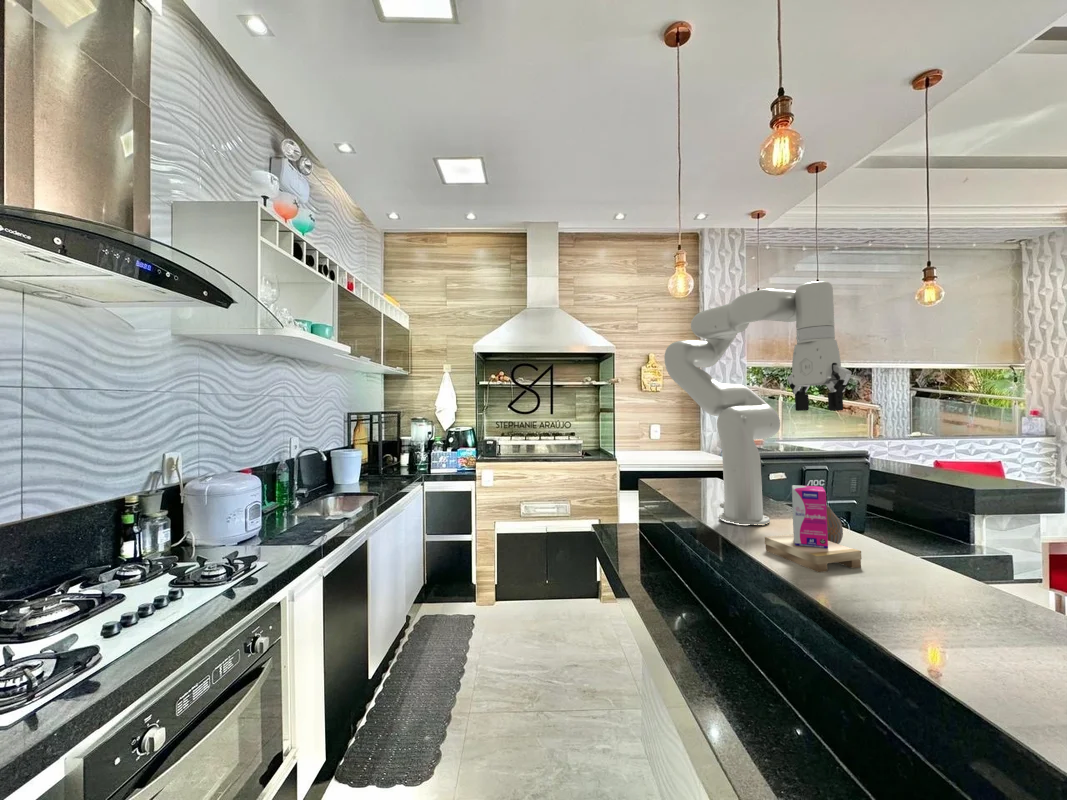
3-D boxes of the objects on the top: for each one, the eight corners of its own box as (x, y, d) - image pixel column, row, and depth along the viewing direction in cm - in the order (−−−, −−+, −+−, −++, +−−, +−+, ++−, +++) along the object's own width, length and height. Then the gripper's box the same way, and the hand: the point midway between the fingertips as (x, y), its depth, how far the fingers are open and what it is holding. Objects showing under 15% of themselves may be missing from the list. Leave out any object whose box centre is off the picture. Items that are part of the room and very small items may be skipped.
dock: (765, 550, 99) (764, 536, 99) (804, 546, 101) (804, 532, 101) (817, 572, 85) (816, 555, 85) (862, 567, 87) (861, 550, 87)
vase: (800, 541, 105) (799, 503, 105) (831, 540, 105) (829, 502, 105) (818, 550, 98) (816, 509, 99) (851, 549, 98) (848, 508, 98)
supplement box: (794, 546, 92) (792, 489, 92) (793, 538, 97) (790, 484, 97) (829, 549, 89) (826, 490, 89) (825, 541, 94) (822, 485, 95)
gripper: (774, 342, 113) (777, 411, 113) (832, 330, 96) (835, 411, 96) (801, 342, 114) (803, 410, 114) (862, 330, 97) (865, 410, 97)
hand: (818, 410), depth 105 cm, fingers open, 9 cm apart
